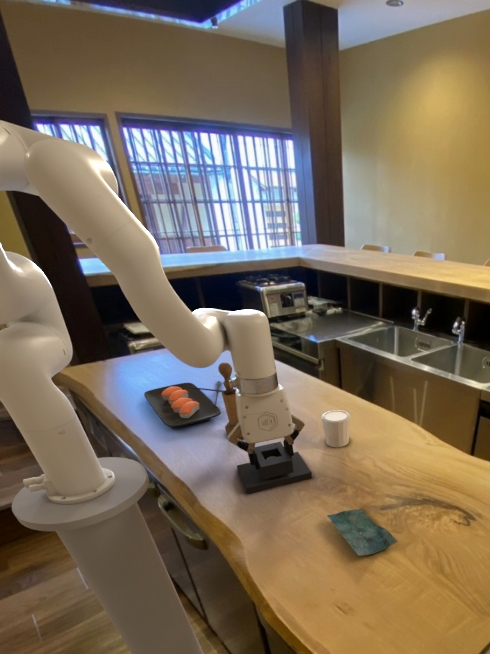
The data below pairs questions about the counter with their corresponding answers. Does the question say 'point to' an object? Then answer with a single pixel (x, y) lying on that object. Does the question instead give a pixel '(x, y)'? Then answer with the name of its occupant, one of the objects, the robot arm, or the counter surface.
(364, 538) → the nori seaweed sheet
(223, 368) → the wooden pepper mill
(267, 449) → the black block with hole
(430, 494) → the counter surface
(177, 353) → the robot arm
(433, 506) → the counter surface
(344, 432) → the white cup
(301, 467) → the base pad
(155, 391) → the sushi plate
